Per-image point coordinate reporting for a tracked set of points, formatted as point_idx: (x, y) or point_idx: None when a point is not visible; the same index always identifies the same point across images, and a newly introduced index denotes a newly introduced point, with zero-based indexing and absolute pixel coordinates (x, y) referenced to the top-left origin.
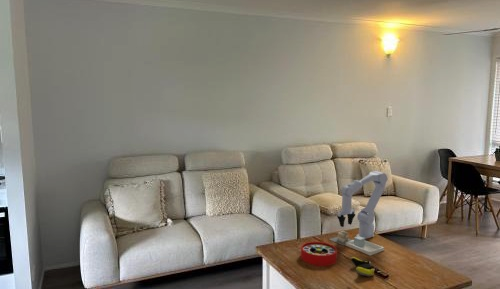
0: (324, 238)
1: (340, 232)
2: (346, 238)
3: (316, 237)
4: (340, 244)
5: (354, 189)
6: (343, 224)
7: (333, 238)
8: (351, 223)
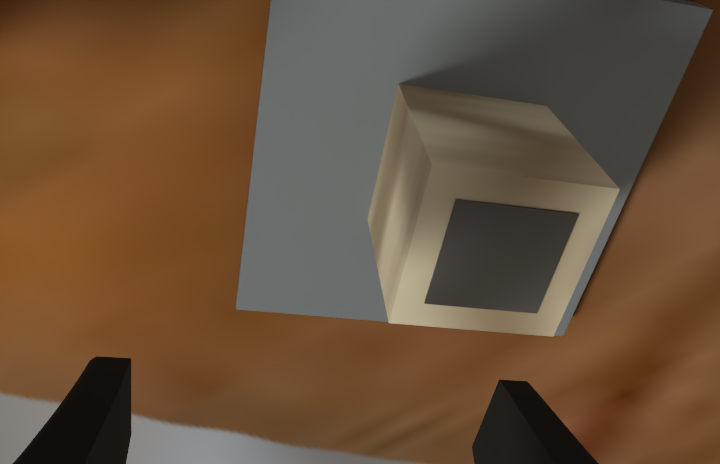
0: None
1: (529, 298)
2: (459, 114)
3: None
4: (674, 82)
5: None
6: (566, 438)
7: None
8: (91, 379)
